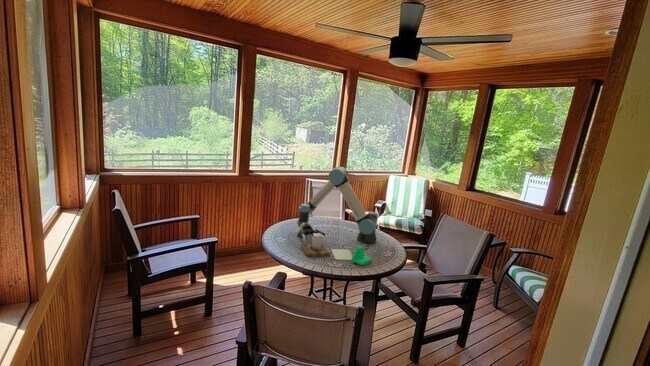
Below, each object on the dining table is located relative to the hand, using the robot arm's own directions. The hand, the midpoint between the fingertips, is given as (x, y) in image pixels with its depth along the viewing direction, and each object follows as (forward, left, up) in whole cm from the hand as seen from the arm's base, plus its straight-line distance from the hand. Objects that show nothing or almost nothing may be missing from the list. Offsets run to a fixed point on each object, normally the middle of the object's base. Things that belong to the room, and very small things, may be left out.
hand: (314, 239), depth 207 cm
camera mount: (-30, +17, -8) cm, 35 cm away
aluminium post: (-1, +3, -8) cm, 8 cm away
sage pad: (-19, +7, -7) cm, 22 cm away
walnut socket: (-1, +3, -7) cm, 8 cm away
